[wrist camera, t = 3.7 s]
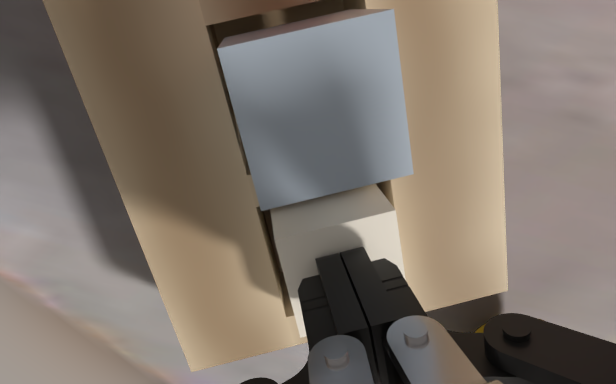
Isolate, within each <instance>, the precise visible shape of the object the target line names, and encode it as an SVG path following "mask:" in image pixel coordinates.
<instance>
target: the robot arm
mask: <svg viewBox="0 0 616 384" xmlns="http://www.w3.org/2000/svg"><path fill="white" fill-rule="evenodd" d="M340 257H341V258H340ZM315 260H316V264H317V269H318V273H319V275H316V276H312V277H308V278H304V279H302V281H301V283H300V286H299V288H298V295H299V300H300V305H301V310H302V315H303V320H304V325H305V330H306V335H307V340H308V345H309V355H308V361H307V363H306V365H305V366H304V367H303V369H302V370H301V371H300V372H299V373H298V374H296V375H295V376H294V377H292V378H291V379H289V380H287V381H285V382H284V383H282V384H616V344H615V343H612V342H609V341H606V340H602V339H599V338H596V337H593V336H590V335H587V334H584V333H580V332H577V331H574V330H571V329H568V328H565V327H562V326H559V325H555V324H552V323H549V322H546V321H543V320H540V319H537V318H534V317H530V316H527V315H523V314H516V313H508V314H501V315H498V316H495V317H493V318H491V319H490V320H489V321H488V322H487V323H486V324H485V326H484V330H483V333H458V332H452V331H448V330H446V329H445V328H444V327H443V326H442V325H441V324H440V323H439V322H438V321H436V320H434V319H432V318H430V317H428V316H427V314H426V313H425V311H424V309H423V308H422V306H421V304H420V303H419V301H418V300H417V298H416V296H415V295H414V293H413V291H412V290H411V288H410V286H408V283H407V282H406V280H405V278H403V275H402V273H401V272H400V270H399V268H398V267H397V265H395V264H394V263H392V262H390V261H389V260H387V259H385V258H383V259H379V260H375V261H371V260H370V258H369V256H368V254H367V252H366V250H365V248H364V247H359V248H355V249H351V250H347V251H343V252H340V255H339V253H335V254H331V255H327V256H323V257H319V258H315ZM240 384H278V383H277V382H275V381H274V380H271V379H268V378H253V379H250V380H247V381H244V382H242V383H240Z"/></svg>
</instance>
